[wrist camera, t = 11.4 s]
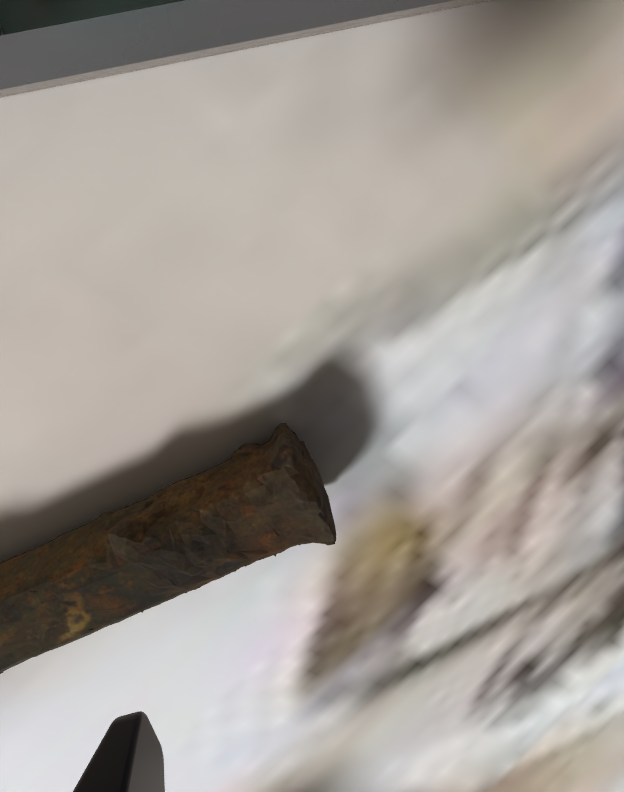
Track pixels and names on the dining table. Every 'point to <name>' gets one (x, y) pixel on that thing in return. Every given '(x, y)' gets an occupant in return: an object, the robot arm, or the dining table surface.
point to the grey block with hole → (180, 35)
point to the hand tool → (163, 547)
